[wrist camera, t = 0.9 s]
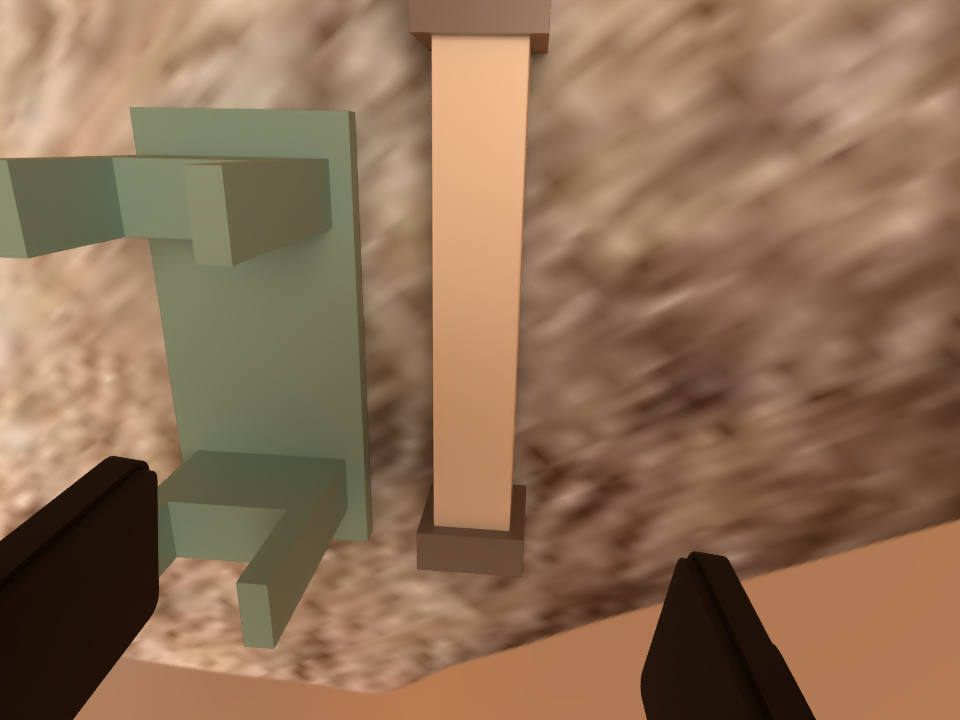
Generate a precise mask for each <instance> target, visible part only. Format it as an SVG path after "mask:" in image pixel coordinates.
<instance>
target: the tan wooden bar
mask: <svg viewBox="0 0 960 720" xmlns="http://www.w3.org/2000/svg"><path fill="white" fill-rule="evenodd" d="M550 9H551V0H409V32H410V33H411V34H412V35H413V36H414V37H415V38H417V39H418V40H419V41H420V42H421V43H422V44H423V45H425V46H426V47H427V48H428V49H429V50H430V51H431V52H432V210H433V437H434V480H433V483H432V487H431V490H430V493H429V496H428V499H427V502H426V505H425V509H424V512H423V515H422V518H421V521H420V524H419V528H418V531H417V569H422V570H435V571H449V572H462V573H476V574H489V575H502V576H516V577H522V567H523V547H524V524H525V498H526V486H522V485H513V466H514V442H515V418H516V394H517V370H518V347H519V323H520V299H521V275H522V251H523V228H524V204H525V180H526V156H527V132H528V109H529V85H530V61H531V53H548V42H549V29H550Z"/></svg>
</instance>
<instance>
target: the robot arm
mask: <svg viewBox="0 0 960 720" xmlns="http://www.w3.org/2000/svg"><path fill="white" fill-rule="evenodd" d="M158 598H159V557H158V480H157V475H156V472H154V471H150V470H149V466H148V464H147V463H146V462H145V461H141V460H135V459H129V458H123V457H117V456H110V457H108V458H106V459H105V460H103V461H102V462H101V463H99V464H98V465H97V466H96V467H94V468H93V469H92V470H90V471H89V472H88V473H87V474H85V475H84V476H83V477H81V478H80V479H79V480H78V481H76V482H75V483H74V484H73V485H71V486H70V487H69V488H67V489H66V490H65V491H64V492H62V493H61V494H60V495H58V496H57V497H56V498H55V499H53V500H52V501H51V502H50V503H48V504H47V505H46V506H44V507H43V508H42V509H41V510H39V511H38V512H37V513H35V514H34V515H33V516H32V517H30V518H29V519H28V520H26V521H25V522H24V523H23V524H21V525H20V526H19V527H18V528H16V529H15V530H14V531H12V532H11V533H10V534H9V535H7V536H6V537H5V538H3V539H2V540H1V541H0V720H73V719H74V718H75V716H76V715H77V714H78V712H79V711H80V710H81V708H82V707H83V706H84V704H85V703H86V702H87V700H88V699H89V698H90V697H91V695H92V694H93V693H94V691H95V690H96V688H97V687H98V686H99V685H100V683H101V682H102V681H103V679H104V678H105V677H106V675H107V674H108V673H109V671H110V670H111V669H112V667H113V666H114V665H115V663H116V662H117V661H118V660H119V658H120V657H121V656H122V654H123V653H124V652H125V650H126V649H127V648H128V646H129V645H130V644H131V642H132V641H133V640H134V638H135V637H136V636H137V634H138V633H139V632H140V631H141V629H142V628H143V627H144V625H145V624H146V623H147V621H148V620H149V619H150V617H151V616H152V614H153V612H154V610H155V608H156V605H157V602H158ZM641 696H642V701H643V705H644V709H645V713H646V717H647V720H816V719H815V717H814V715H813V713H812V711H811V709H810V707H809V706H808V704H807V702H806V700H805V698H804V696H803V694H802V692H801V690H800V689H799V687H798V685H797V683H796V681H795V679H794V677H793V675H792V673H791V672H790V670H789V668H788V666H787V664H786V662H785V660H784V658H783V657H782V655H781V653H780V651H779V650H778V649H777V647H776V646H775V645H774V644H772V642H771V640H770V638H769V637H768V634H767V633H766V631H765V629H764V627H763V625H762V623H761V621H760V619H759V617H758V615H757V614H756V612H755V610H754V608H753V606H752V604H751V602H750V600H749V598H748V596H747V594H746V592H745V590H744V589H743V587H742V585H741V583H740V581H739V579H738V577H737V575H736V573H735V571H734V569H733V568H732V566H731V564H730V562H729V560H728V559H727V558H726V557H724V556H719V555H713V554H707V553H701V552H695V551H693V552H691V553H690V554H689V556H688V558H687V559H686V558H680V559H679V560H678V562H677V564H676V567H675V570H674V573H673V577H672V580H671V583H670V586H669V589H668V592H667V595H666V599H665V602H664V605H663V608H662V611H661V614H660V617H659V621H658V624H657V627H656V630H655V633H654V636H653V640H652V643H651V646H650V649H649V652H648V655H647V659H646V662H645V665H644V668H643V671H642V675H641Z"/></svg>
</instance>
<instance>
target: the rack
mask: <svg viewBox="0 0 960 720" xmlns="http://www.w3.org/2000/svg"><path fill="white" fill-rule="evenodd" d="M130 114H131V121H132V127H133V134H134V141H135V147H136V154H137V155H127V156H85V157H43V158H1V159H0V257H4V258H32V257H36V256H41V255H45V254H50V253H54V252H59V251H64V250H68V249H73V248H77V247H82V246H86V245H91V244H95V243H100V242H104V241H109V240H113V239H118V238H123V237H140V238H149V241H150V247H151V254H152V261H153V267H154V274H155V281H156V287H157V294H158V301H159V307H160V314H161V321H162V327H163V334H164V341H165V347H166V354H167V361H168V367H169V374H170V381H171V387H172V394H173V401H174V407H175V414H176V421H177V427H178V434H179V441H180V447H181V454H182V461H183V465H181V466H180V467H179V468H178V469H177V470H176V471H175V472H174V473H173V474H171V475H170V476H169V477H168V478H167V479H166V480H165V481H164V482H162V483H161V484H160V485H159V486H158V557H159V577H160V576H161V574H162V573H163V572H164V571H165V570H166V569H167V568H168V566H169V565H170V564H171V563H172V562H173V561H174V560H175V559H176V557H184V558H197V559H210V560H223V561H236V562H249V563H250V564H249V565H248V566H247V568H246V569H245V571H244V572H243V574H242V575H241V576H240V578H239V579H238V581H237V582H236V585H237V593H238V601H239V609H240V617H241V624H242V632H243V640H244V646H245V647H257V648H268V649H274V648H275V646H276V644H277V643H278V641H279V639H280V637H281V635H282V633H283V631H284V629H285V627H286V626H287V624H288V622H289V620H290V618H291V616H292V614H293V612H294V610H295V608H296V607H297V605H298V603H299V601H300V599H301V597H302V595H303V593H304V591H305V590H306V588H307V586H308V584H309V582H310V580H311V578H312V576H313V574H314V572H315V571H316V569H317V567H318V565H319V563H320V561H321V559H322V557H323V555H324V554H325V552H326V550H327V548H328V546H329V544H330V542H331V540H332V539H336V540H350V541H364V542H368V540H369V538H370V535H371V533H372V513H371V489H370V465H369V441H368V417H367V393H366V369H365V345H364V321H363V297H362V273H361V249H360V225H359V201H358V177H357V153H356V129H355V112H351V111H317V110H259V109H202V108H144V107H130Z"/></svg>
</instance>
